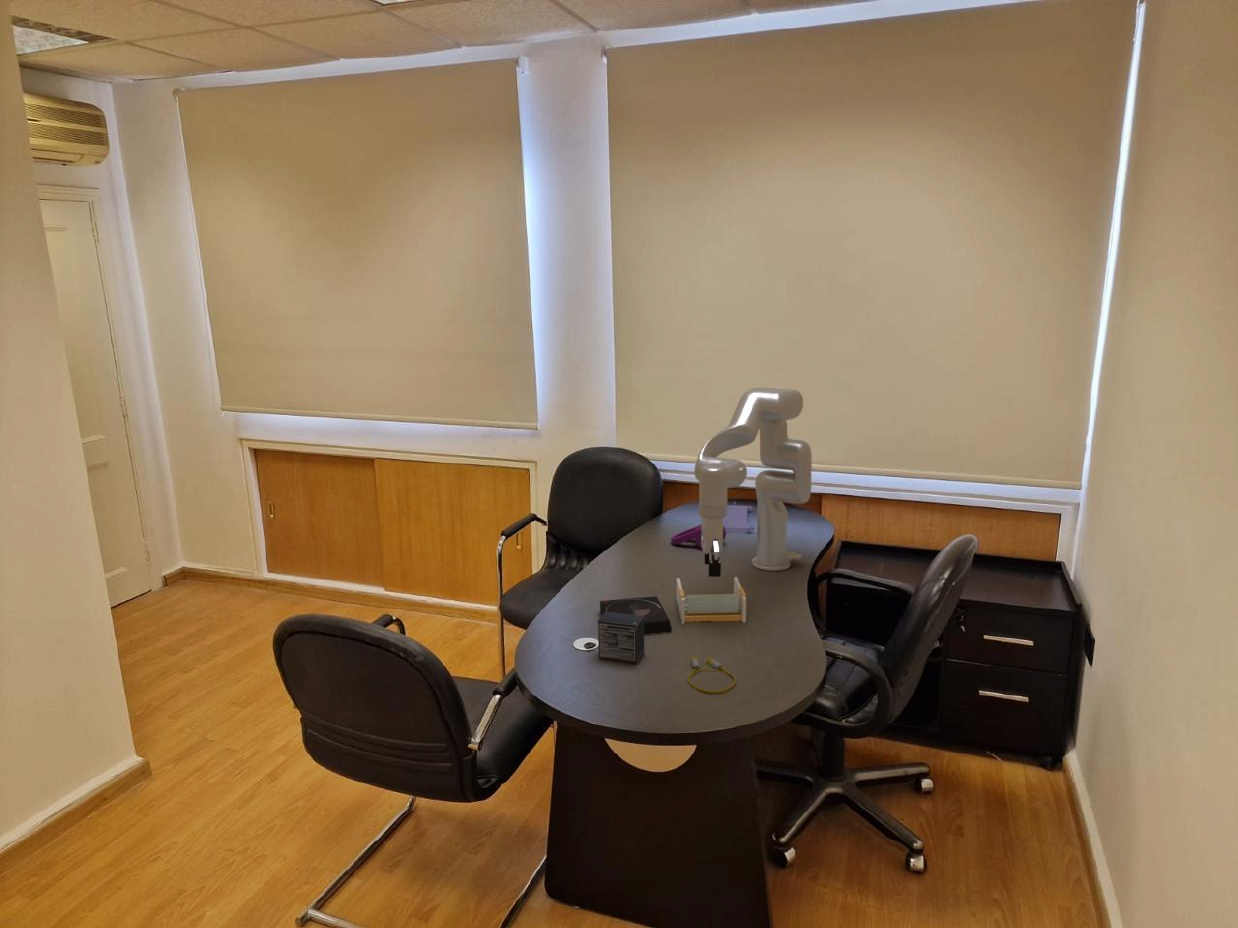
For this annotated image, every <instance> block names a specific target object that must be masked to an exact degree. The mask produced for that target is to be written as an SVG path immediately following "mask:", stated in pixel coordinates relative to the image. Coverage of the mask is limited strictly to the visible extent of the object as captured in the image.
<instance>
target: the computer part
mask: <svg viewBox="0 0 1238 928" xmlns="http://www.w3.org/2000/svg"><path fill="white" fill-rule="evenodd" d="M753 509H754V507H753V506H751V505H736V501H733V505H731V504H730V505H729V504H727V516H726V517H725V518H723V526H724V528H725V531H726V534H729V533H732V532H733V533H736V532H737V533H748V534H749V531H755V526H752V525H751V526H750V525H749V521H748V511H752V510H753Z"/></svg>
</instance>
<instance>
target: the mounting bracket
mask: <svg viewBox="0 0 1238 928" xmlns="http://www.w3.org/2000/svg"><path fill="white" fill-rule="evenodd" d="M701 529H702V523H701V524H699V525H696V526H693V527H692V528H689V529H686V530H683V531H681V532H679V533H676V534H675V535H674V536H672V537H671V539H670V540H671V542H672V545H674V546H677V545H680V544H683V543H686V542H689V541H691V540H695V541H696V543H697V546H698V547H699V549H700V550H702V551H703V548H702V545H701ZM726 536H727V533H726V531H725V528H724V526H723V541H725V539H726V538H727V537H726Z"/></svg>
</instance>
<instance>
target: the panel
mask: <svg viewBox="0 0 1238 928" xmlns="http://www.w3.org/2000/svg"><path fill="white" fill-rule="evenodd" d="M685 596H686V603H685V604H686V615H685V616H700V615H739V614H738V596H737V594H734V593H719V594H716V593H715V594H714V593H713V594H709V593H707V594H686V595H685Z"/></svg>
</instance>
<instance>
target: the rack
mask: <svg viewBox="0 0 1238 928" xmlns="http://www.w3.org/2000/svg"><path fill="white" fill-rule="evenodd" d="M733 580H734V581H733V594H737V596H738V615H700V616H686V597H685V593H684V592H685V591H684V589H683V588H682V582H681V579H680V577H677V578H676V603H677V609H678V612H679V617H680V623H681V625H685V623H696V622H697V623H700V622H702V621H704V622H705V621H712V622H742V623H744V624H745V623H747V622H746V620H747V617H746V616H747V598H746V597H747V596H746V592H745V589H744V587H742V585H741V584H740V580H739V579H738V577H737V576H735V577H733ZM695 621H696V622H695ZM699 621H700V622H699ZM704 622H703V623H704ZM705 623H706V622H705Z"/></svg>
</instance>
